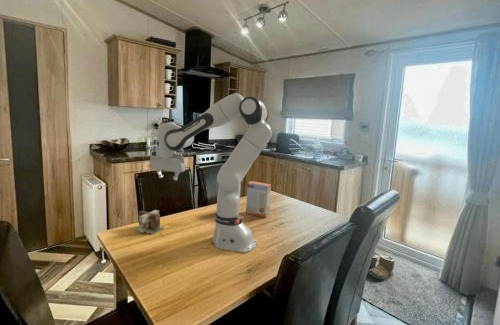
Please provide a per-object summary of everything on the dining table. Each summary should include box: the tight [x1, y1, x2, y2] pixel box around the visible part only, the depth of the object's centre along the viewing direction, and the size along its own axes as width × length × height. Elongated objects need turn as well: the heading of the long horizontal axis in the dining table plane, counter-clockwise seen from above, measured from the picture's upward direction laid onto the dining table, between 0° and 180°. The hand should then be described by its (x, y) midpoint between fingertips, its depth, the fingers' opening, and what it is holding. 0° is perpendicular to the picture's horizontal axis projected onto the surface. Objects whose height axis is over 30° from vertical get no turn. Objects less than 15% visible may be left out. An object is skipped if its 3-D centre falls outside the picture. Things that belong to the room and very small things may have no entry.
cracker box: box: [245, 180, 272, 219], centre depth 171 cm, size 14×6×21 cm, turn 64°
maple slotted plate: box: [138, 209, 160, 234], centre depth 142 cm, size 12×2×8 cm, turn 156°
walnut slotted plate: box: [134, 210, 164, 235], centre depth 142 cm, size 12×8×9 cm, turn 66°
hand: (168, 178), depth 142 cm, fingers open, 8 cm apart
